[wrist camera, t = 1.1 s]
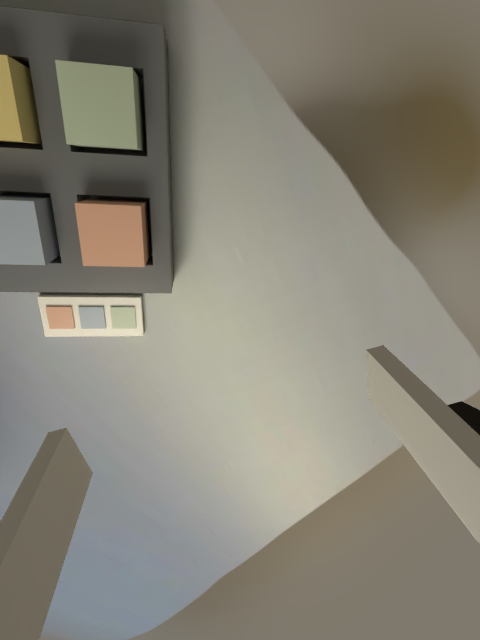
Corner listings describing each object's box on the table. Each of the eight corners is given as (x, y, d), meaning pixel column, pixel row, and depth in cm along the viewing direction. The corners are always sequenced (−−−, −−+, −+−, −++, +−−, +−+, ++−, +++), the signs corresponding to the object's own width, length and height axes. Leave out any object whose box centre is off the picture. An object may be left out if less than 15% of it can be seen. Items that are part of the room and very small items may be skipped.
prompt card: (47, 333, 32) (44, 337, 32) (40, 294, 31) (36, 297, 30) (144, 333, 34) (143, 336, 33) (141, 295, 32) (140, 298, 31)
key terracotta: (95, 254, 28) (83, 265, 25) (88, 198, 26) (74, 203, 23) (149, 256, 29) (144, 267, 26) (146, 201, 27) (140, 206, 24)
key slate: (3, 252, 27) (-22, 263, 24) (-10, 194, 25) (-39, 198, 22) (62, 253, 28) (45, 265, 25) (53, 196, 26) (33, 201, 23)
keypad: (0, 278, 30) (-23, 291, 27) (-63, 17, 22) (-105, -7, 19) (173, 280, 32) (171, 293, 29) (167, 42, 25) (163, 24, 21)
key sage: (82, 146, 25) (66, 143, 22) (73, 74, 23) (55, 59, 20) (144, 150, 25) (137, 148, 22) (140, 80, 24) (132, 67, 20)
